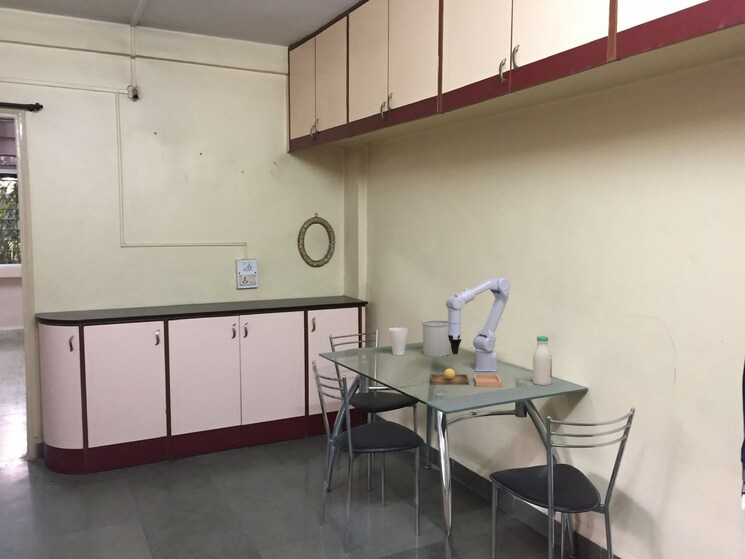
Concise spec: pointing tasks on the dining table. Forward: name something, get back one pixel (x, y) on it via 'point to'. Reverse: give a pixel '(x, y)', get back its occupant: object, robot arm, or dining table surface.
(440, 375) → the tray
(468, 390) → the dining table surface
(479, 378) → the dish
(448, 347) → the utensil holder
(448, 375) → the ball
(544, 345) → the milk bottle
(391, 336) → the cup
